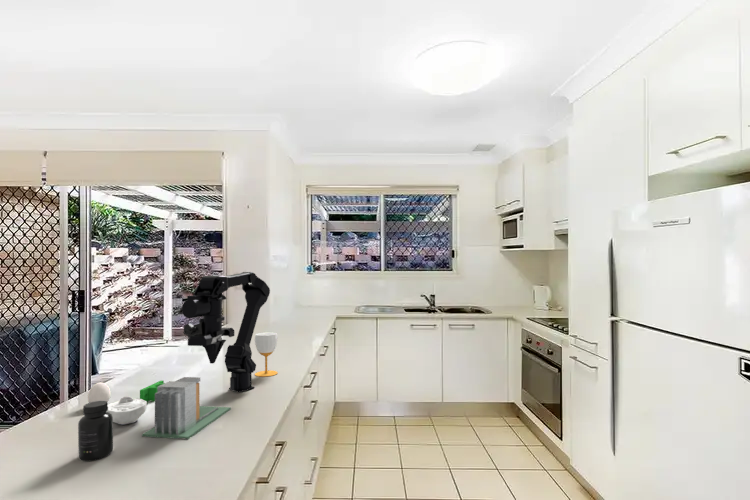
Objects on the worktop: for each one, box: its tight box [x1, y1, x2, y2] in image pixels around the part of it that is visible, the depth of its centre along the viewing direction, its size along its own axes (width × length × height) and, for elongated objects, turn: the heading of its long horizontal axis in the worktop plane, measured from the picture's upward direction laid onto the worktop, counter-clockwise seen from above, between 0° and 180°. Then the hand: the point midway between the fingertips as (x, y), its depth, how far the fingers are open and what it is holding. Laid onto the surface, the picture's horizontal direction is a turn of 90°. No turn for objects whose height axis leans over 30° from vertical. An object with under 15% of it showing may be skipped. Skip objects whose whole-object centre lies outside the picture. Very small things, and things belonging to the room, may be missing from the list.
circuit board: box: [141, 405, 232, 440], centre depth 120 cm, size 22×13×1 cm, turn 171°
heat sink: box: [154, 376, 219, 435], centre depth 119 cm, size 20×8×12 cm, turn 171°
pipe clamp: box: [139, 380, 165, 402], centre depth 141 cm, size 11×4×5 cm, turn 175°
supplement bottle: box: [77, 401, 114, 462], centre depth 99 cm, size 7×7×12 cm
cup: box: [254, 331, 278, 378], centre depth 171 cm, size 9×9×16 cm
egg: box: [87, 382, 112, 403], centre depth 133 cm, size 6×6×8 cm
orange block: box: [196, 382, 200, 420], centre depth 119 cm, size 2×5×10 cm, turn 81°
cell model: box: [107, 395, 148, 426], centre depth 120 cm, size 10×12×7 cm
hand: (212, 363), depth 137 cm, fingers closed
